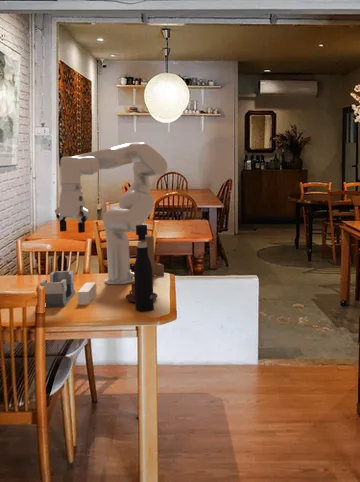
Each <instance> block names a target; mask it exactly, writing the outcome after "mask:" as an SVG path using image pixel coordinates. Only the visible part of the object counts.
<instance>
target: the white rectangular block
mask: <svg viewBox="0 0 360 482" xmlns="http://www.w3.org/2000/svg"><path fill="white" fill-rule="evenodd" d="M97 292H98V291H97V282H95V281H94V282H85V283H84V284H83V285H82V287H80V289H79V290H78V291H77V304H78V305H79V306H80V305H81V306H82V305H90V304H91V303H92V301H93V300H94V299H95V297H96V296H97Z"/></svg>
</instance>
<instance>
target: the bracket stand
mask: <svg viewBox="0 0 360 482" xmlns="http://www.w3.org/2000/svg"><path fill="white" fill-rule="evenodd" d="M74 282H75V271H74V270H60V271H59V270H57V271H52V272H50V274H49V282H48V279H43V280H42V281H41V282H39V286H40V285H41V286H45V303H46V307H45V308H65V307H66V306H67V304H68V303H69V302H70V300H71V299H72V298H73V297H74V295H75V294H76V290H75V287H74V285H75V284H74Z"/></svg>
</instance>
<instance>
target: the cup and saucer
mask: <svg viewBox="0 0 360 482" xmlns="http://www.w3.org/2000/svg"><path fill="white" fill-rule="evenodd" d="M130 287H131V290H130V291H129V293H128V294H125V299H126V300H127V301H129V302H132V303H135V283H132V284H131V285H130ZM157 298H158V294H157V292H153V300H156V299H157Z"/></svg>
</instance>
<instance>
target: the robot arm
mask: <svg viewBox="0 0 360 482" xmlns="http://www.w3.org/2000/svg"><path fill="white" fill-rule="evenodd" d="M132 163H133V166H132V171H133V182H132V184H131V185H130V187H128V189H127V190H126V191H125V193H124V194H123V195H122V197H120V200H119V202H118V207H119V208H118V207H117V208H116V207H115V208H110V209H107V211H105V212H104V214H103V217H102V222H103V223H102V224H103V228H104V232H105V238H106V258H107V276H108V277H107V278H105V279H104V283H105V284H108V285H126V284H131V283H133V282H134V271H132V269H131V262H130V240H129V235H128V233H134V232H135V233H136V225H144V223H145V222H146V220H147V219H148V218H149V217H150V215H151V214H152V213H153V210H154V207H155V199H154V197H153V195H152V194H151V190H152V189H151V188H152V187H151V183H150V182H151V181H150V178H149V177H162V176H164V175H165V174H166V173H167V171H168V163H167V160H166V159H165V158H164V156H163V155H162V154H160V153H159V152H158V151H157V150H155V149H154V148H153V147H152V146H150V145H149V144H148V143H146V142H129V143H123V144H119V145H116V146H112V147H108V148H104V149H99V150H96V151H90V152H87V153H86V152H85V153H82V154H78V155H73V156H62V157H61V158H60V185H61V186H60V189H61V191H60V195H59V203H58V205H59V207H57V208H56V209H55V210H54V213H55V215H56V218H57V219H58V222H59V232H66V231H67V221H66V219H67V218H75V219H77V220H78V223H77V231H78V233H79V234H81V233H83V234H84V233H85V232H86V222H87V220H88V218H89V216H90V211H89V210H88V209H87V208H86V204H85V203H86V202H85V197H84V193H83V191H82V189H83V186H82V185H81V176H92V175H96V174H97V173H98V172H99V171H100V170H111V169H116V168H119V167H122V166H125V165H126V166H127V165H128V164H132Z"/></svg>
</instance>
